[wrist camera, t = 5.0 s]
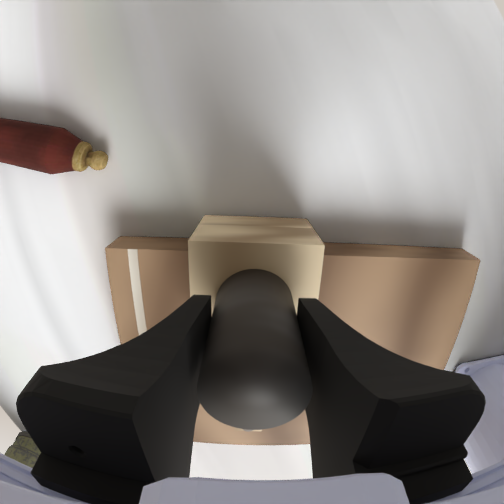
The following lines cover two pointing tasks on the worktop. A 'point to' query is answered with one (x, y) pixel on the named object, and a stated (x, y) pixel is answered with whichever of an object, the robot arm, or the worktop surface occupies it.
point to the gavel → (46, 148)
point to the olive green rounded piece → (24, 450)
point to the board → (330, 294)
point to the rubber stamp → (254, 316)
